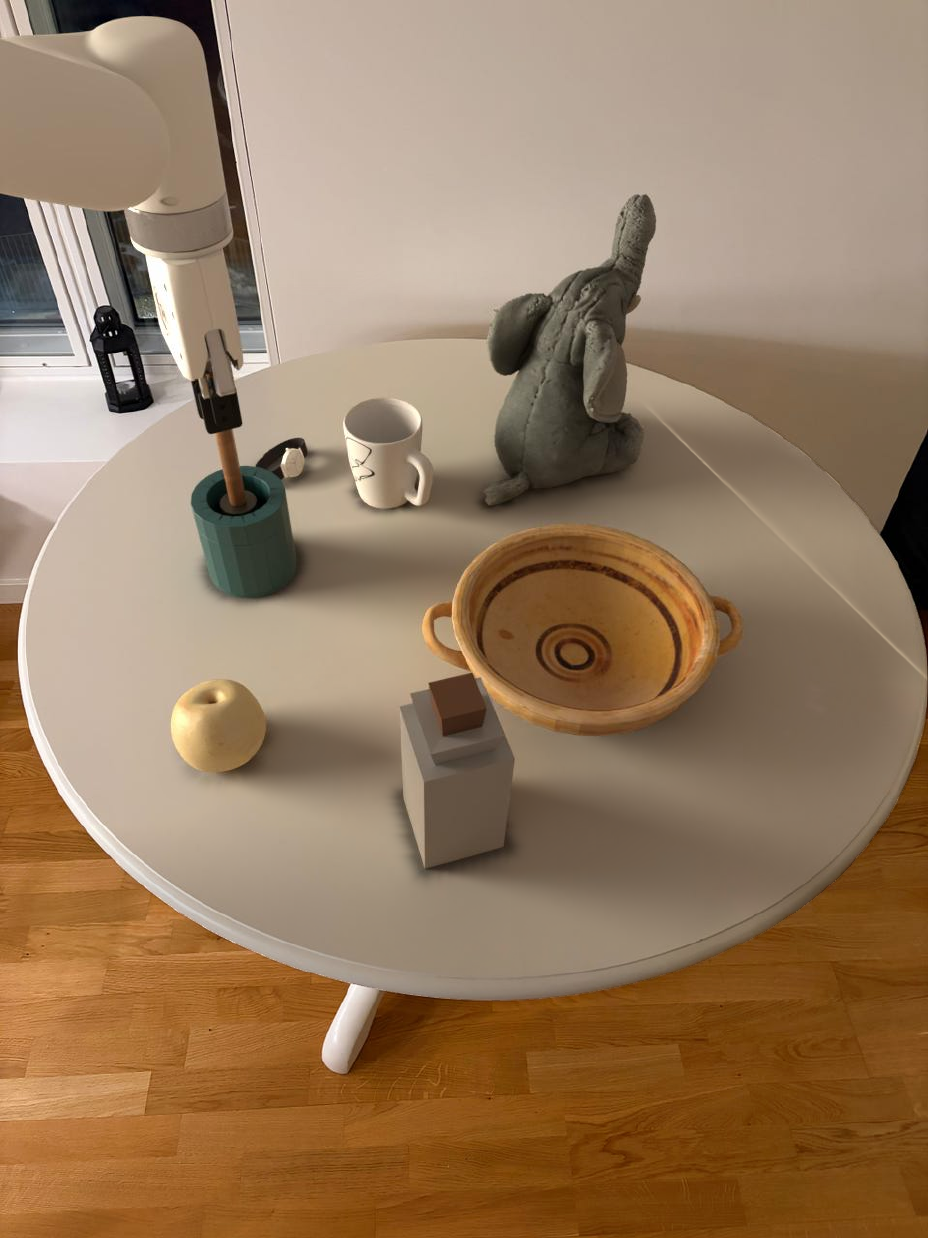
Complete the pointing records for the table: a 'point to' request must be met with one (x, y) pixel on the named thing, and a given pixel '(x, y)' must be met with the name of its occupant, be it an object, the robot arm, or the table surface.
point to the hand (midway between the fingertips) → (220, 420)
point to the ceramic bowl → (584, 628)
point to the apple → (218, 725)
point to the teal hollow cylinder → (246, 535)
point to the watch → (286, 458)
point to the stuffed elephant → (570, 369)
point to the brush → (233, 477)
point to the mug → (387, 452)
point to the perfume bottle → (455, 770)
